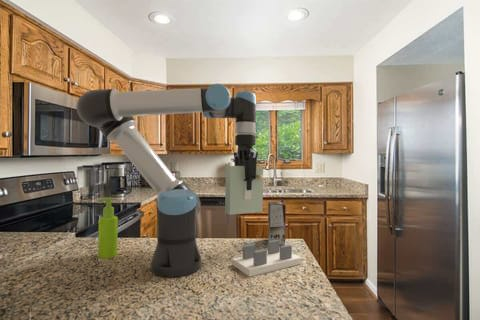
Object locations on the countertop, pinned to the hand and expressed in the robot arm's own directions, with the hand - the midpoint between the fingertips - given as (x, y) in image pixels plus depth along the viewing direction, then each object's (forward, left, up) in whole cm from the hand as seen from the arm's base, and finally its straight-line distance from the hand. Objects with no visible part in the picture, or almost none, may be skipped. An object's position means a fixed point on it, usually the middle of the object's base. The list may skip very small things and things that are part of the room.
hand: (244, 198), depth 98 cm
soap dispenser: (-44, +19, -20) cm, 52 cm away
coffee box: (+18, +4, -20) cm, 27 cm away
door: (0, 0, -5) cm, 5 cm away
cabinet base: (0, -14, -20) cm, 24 cm away
